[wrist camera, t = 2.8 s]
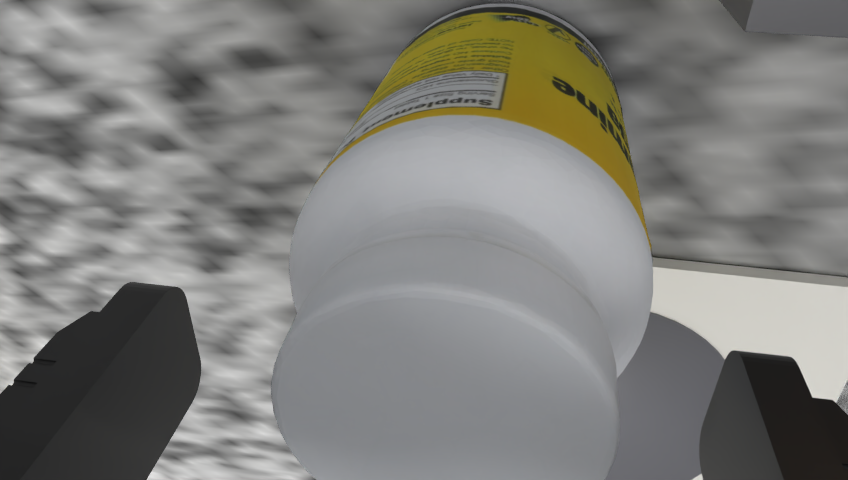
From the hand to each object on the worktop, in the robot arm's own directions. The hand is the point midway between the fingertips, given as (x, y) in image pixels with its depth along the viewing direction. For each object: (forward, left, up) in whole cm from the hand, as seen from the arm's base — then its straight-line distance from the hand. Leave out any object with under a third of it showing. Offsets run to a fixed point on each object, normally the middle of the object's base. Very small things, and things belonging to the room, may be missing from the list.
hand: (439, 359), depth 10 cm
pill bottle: (0, 0, -10) cm, 10 cm away
